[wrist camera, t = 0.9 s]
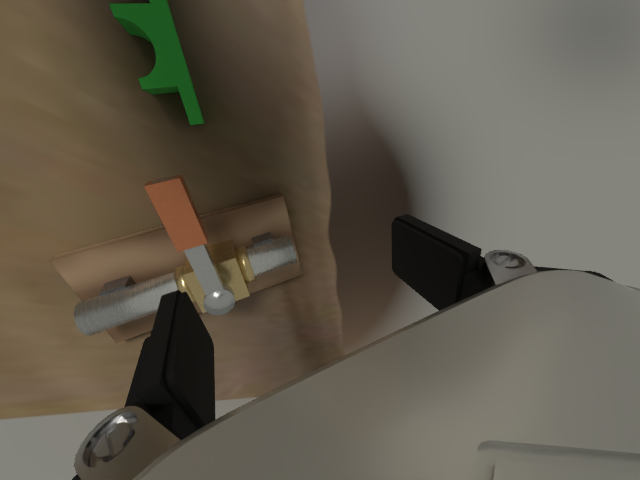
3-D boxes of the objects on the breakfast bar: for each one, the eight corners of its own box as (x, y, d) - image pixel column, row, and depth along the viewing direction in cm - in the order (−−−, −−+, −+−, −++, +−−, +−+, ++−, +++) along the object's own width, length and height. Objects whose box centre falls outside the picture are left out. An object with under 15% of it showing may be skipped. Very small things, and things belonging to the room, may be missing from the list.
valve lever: (236, 293, 27) (238, 309, 25) (210, 302, 27) (209, 320, 24) (185, 171, 21) (182, 177, 19) (149, 179, 20) (140, 186, 18)
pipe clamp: (109, -23, 20) (84, -59, 16) (160, -22, 21) (149, -55, 17) (165, 129, 25) (157, 129, 21) (205, 124, 26) (203, 123, 22)
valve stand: (57, 254, 26) (49, 260, 24) (280, 193, 32) (283, 196, 31) (120, 334, 31) (116, 343, 30) (299, 269, 38) (302, 274, 36)
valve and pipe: (82, 284, 26) (57, 316, 22) (282, 223, 32) (293, 239, 28) (110, 319, 29) (92, 354, 24) (291, 257, 34) (302, 276, 30)
